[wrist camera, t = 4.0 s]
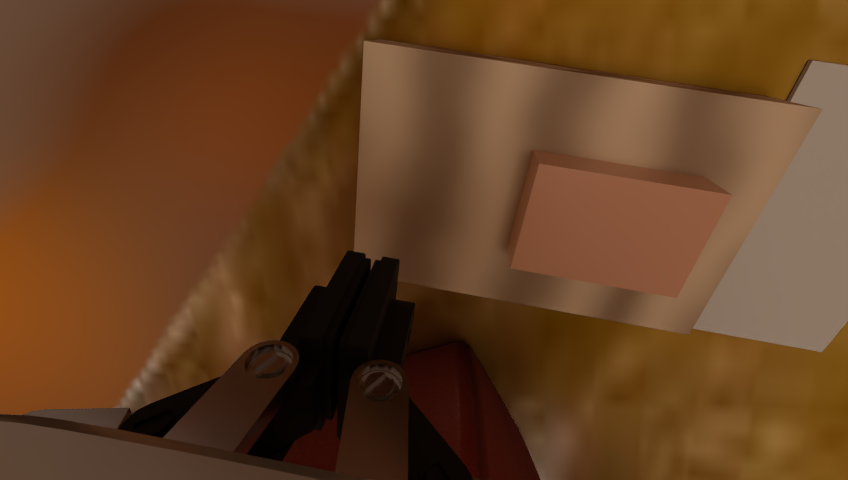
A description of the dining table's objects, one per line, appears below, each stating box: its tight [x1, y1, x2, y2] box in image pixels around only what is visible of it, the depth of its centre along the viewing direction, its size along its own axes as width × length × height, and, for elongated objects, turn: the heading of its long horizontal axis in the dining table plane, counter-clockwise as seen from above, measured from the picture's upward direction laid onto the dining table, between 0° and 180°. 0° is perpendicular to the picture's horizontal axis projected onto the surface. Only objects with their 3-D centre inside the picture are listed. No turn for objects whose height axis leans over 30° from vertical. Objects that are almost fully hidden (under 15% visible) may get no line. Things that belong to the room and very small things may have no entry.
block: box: [508, 150, 732, 298], centre depth 21 cm, size 9×6×2 cm, turn 83°
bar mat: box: [693, 60, 848, 352], centre depth 25 cm, size 11×18×1 cm, turn 173°
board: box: [354, 39, 822, 335], centre depth 24 cm, size 22×14×4 cm, turn 83°
